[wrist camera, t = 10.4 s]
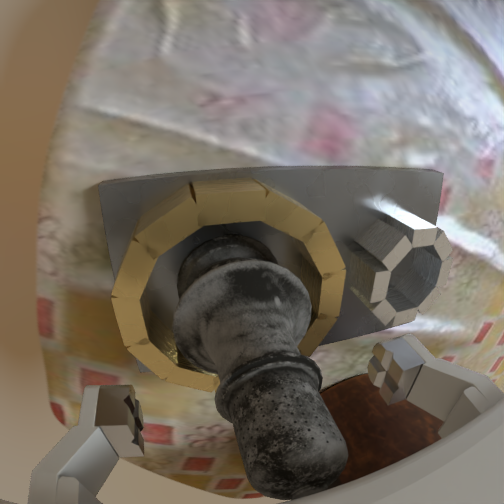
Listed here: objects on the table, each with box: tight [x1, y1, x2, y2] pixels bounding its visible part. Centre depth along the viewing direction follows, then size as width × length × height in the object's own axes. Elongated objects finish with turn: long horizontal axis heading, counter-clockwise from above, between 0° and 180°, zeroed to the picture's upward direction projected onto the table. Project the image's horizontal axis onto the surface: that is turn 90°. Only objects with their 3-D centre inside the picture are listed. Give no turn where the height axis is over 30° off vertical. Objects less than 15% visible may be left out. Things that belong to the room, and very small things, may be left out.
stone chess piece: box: [172, 234, 348, 500], centre depth 11 cm, size 6×6×12 cm
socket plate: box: [98, 166, 453, 392], centre depth 16 cm, size 11×19×4 cm, turn 91°
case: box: [291, 374, 444, 500], centre depth 18 cm, size 18×20×18 cm
